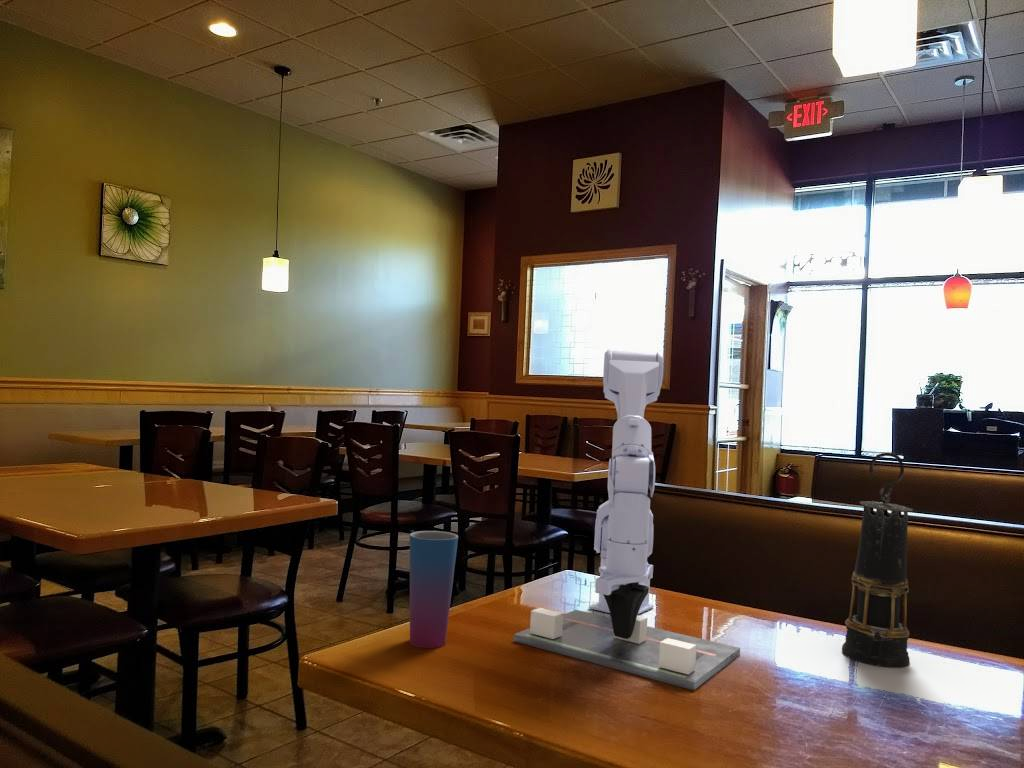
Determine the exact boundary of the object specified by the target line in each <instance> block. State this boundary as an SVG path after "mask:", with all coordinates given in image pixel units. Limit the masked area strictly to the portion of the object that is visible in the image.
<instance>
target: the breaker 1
mask: <svg viewBox="0 0 1024 768" xmlns="http://www.w3.org/2000/svg"><path fill="white" fill-rule="evenodd" d="M563 615H564V612H562V611H561V612H559V611H555V610H552V609H548V608H543V607H537V608H534V609H532V610H530V619H529V621H530V623H529V624H530V625H529V628H530V633H532V634H535V635H539V636H543V637H547V638H551V639H555V638H557V637H560V636H562V627H563Z"/></svg>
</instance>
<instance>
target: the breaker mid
mask: <svg viewBox="0 0 1024 768" xmlns="http://www.w3.org/2000/svg"><path fill="white" fill-rule="evenodd" d="M647 626H648V617H645V616H641V615H639V614H638V615H637V618H636V622H635V625H634V629H633V632H632V635H631V637H630V638H628V639H625V638H621V637H617V636H614V638H618V639H622V640H626V641H630V642H634V643H638V644H640V643H642V642H644V641H645V640H646V636H647Z"/></svg>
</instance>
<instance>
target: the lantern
mask: <svg viewBox="0 0 1024 768" xmlns="http://www.w3.org/2000/svg"><path fill="white" fill-rule="evenodd" d="M882 457H892V458H895V459H896V461H897V462H898V464H899V470H900V471H899V475H898V477H897V479H896V480H894V481H892V482H891V483H885V484H884V485H883V486H881V487H880V489H879V495H880V499H881V501H875V500H869V501H868V500H866V501H865V500H861V501H859V504H860V505H862V506H863V513H862V519H861V527H860V536H859V542H858V549H857V555H856V559H855V560H856V561H855V566H854V570H853V572H852V575H851V584H852V592H851V599H850V607H849V614H848V617H847V618H846V620H845V621H844V624H845V625H846V627H845V628H846V634H845V640H844V643H843V644H842V645H841V646H842V647H841V652H842V654H843V655H844V656H845V657H847V658H849V659H851V660H853V661H857V662H860V663H862V664H864V665H865V664H866V665H870V666H874V667H875V666H876V667H881V668H891V669H895V668H904V667H908V666H909V665H910V663H911V662H910V660H911V659H910V656H909V652H908V640H909V636H910V631H909V629H908V627H907V618H908V617H907V615H908V613H907V611H908V609H907V605H908V604H907V603H908V602H907V599H908V598H907V597H908V596H907V595H908V593H909V592H910V589H909V582H908V578H907V568H908V565H907V563H908V562H907V561H908V529H909V528H908V526H909V525H908V523H909V522H908V518H909V516H908V514H909V512H914V509H913V508H910V507H907V506H905V505H900V504H897V503H890V502H891V497H890V496H891V494H892V492H893V489H892V487H893V488H894V487H895V486H896V485H898V484H899V483H900V482H901V480H902V479H903V477H904V474H905V473H904V472H905V466H904V463H903V460H902V458H901V456H898V454H896V453H893V452H882V453H879V454H877V455H876V456H875V457H873V458H872V460H871V462H870V464H869V469H868V473H869V474H870V475H874V466H875V463H876V461H877V460H878V459H879V458H882ZM886 489H887V491H886V492H885V490H886ZM874 509H875V510H874ZM889 511H890V512H889ZM902 513H903V514H902ZM857 588H858V597H857V614H854V610H855V609H854V607H855V600H856V599H855V598H856V592H857V591H856V590H857ZM901 596H902V602H903V603H902V623H901V622H900V621H899V620H900V605H901Z"/></svg>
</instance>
